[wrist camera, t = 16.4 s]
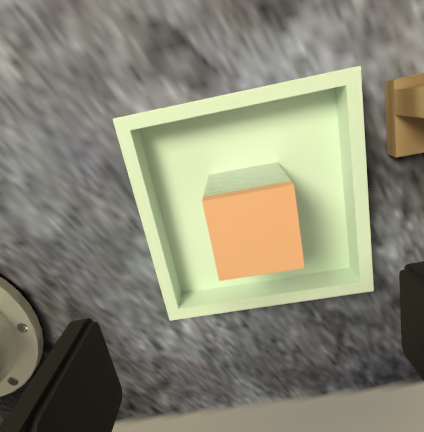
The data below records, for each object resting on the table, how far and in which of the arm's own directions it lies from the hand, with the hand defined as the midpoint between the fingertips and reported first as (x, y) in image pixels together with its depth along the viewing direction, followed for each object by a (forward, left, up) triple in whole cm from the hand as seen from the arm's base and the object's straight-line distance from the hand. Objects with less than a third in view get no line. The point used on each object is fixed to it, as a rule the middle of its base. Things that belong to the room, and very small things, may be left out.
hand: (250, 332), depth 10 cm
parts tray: (+1, 0, -13) cm, 13 cm away
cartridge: (+1, 0, -13) cm, 13 cm away
